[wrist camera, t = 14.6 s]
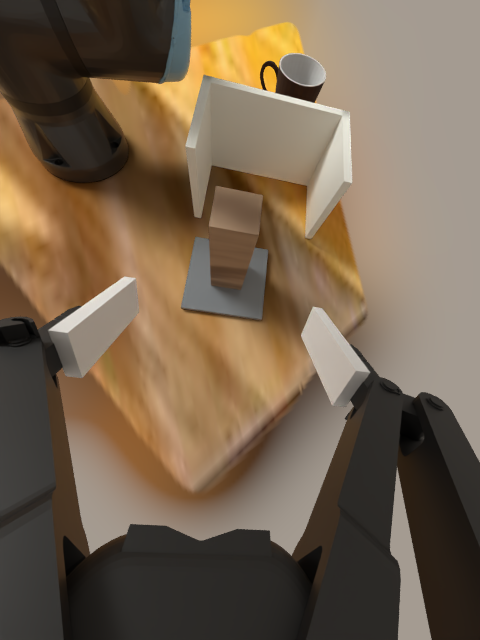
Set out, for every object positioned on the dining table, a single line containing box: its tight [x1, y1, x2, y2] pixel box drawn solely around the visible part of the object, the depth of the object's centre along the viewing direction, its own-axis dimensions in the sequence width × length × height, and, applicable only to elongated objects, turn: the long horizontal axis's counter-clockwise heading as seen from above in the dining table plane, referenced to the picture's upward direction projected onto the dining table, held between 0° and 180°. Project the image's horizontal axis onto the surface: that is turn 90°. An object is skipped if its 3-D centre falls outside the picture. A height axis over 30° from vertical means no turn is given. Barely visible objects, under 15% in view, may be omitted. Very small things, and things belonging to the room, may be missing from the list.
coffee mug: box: [260, 53, 326, 103], centre depth 40 cm, size 12×9×10 cm
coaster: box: [181, 237, 268, 320], centre depth 34 cm, size 13×13×1 cm
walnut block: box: [209, 186, 263, 290], centre depth 27 cm, size 5×5×14 cm
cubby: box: [186, 75, 352, 239], centre depth 34 cm, size 14×22×12 cm, turn 83°
